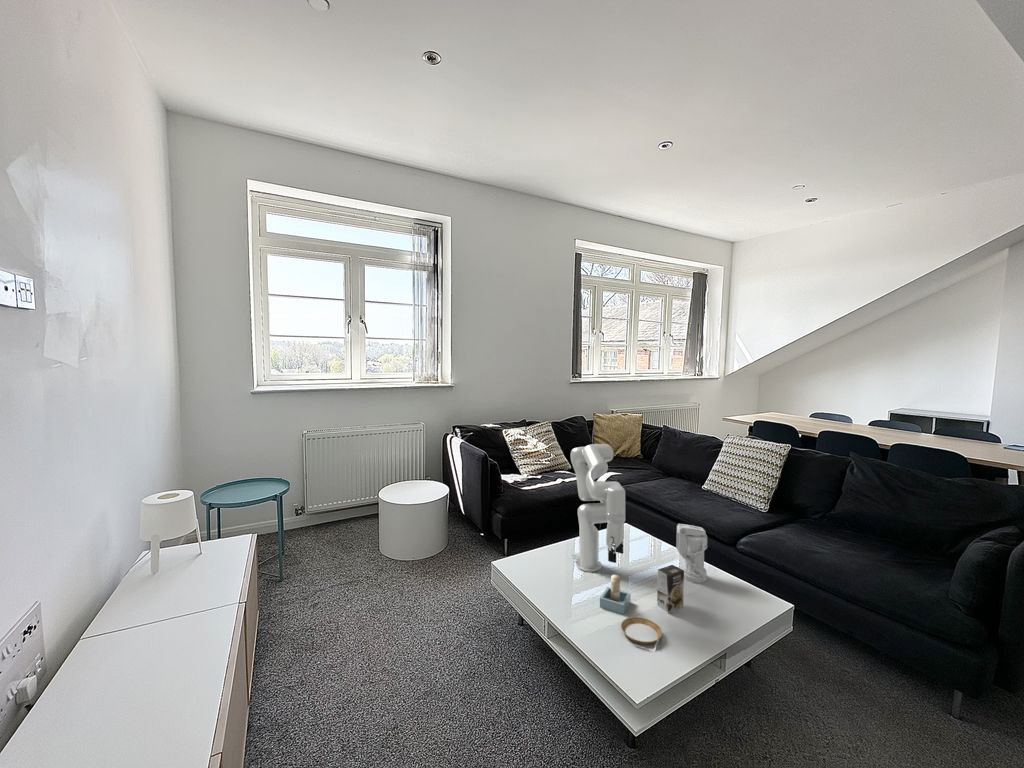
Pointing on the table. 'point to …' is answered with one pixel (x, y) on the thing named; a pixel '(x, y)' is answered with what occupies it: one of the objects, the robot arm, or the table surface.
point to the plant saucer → (641, 621)
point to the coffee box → (670, 588)
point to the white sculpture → (692, 551)
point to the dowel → (615, 588)
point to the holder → (613, 605)
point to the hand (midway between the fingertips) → (615, 557)
